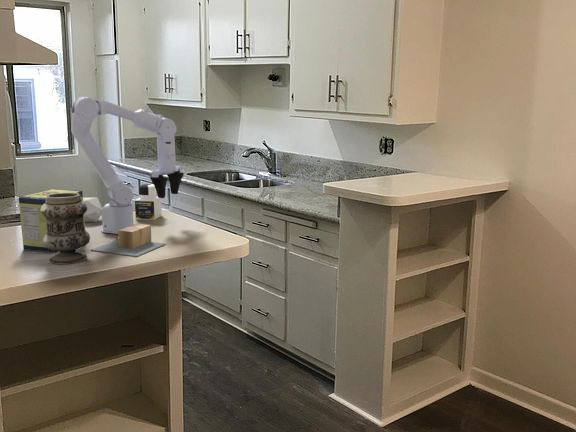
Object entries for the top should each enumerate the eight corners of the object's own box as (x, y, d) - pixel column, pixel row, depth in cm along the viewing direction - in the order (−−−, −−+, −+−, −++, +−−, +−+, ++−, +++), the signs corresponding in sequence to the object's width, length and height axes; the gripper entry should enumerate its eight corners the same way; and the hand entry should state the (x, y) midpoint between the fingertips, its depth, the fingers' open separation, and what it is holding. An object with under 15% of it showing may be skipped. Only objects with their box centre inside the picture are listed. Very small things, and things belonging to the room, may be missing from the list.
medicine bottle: (135, 219, 210) (133, 186, 207) (143, 215, 217) (141, 182, 214) (154, 220, 209) (153, 186, 206) (162, 216, 215) (160, 183, 213)
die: (88, 226, 202) (104, 202, 203) (66, 213, 202) (82, 188, 204) (95, 229, 210) (111, 206, 212) (74, 216, 211) (90, 193, 212)
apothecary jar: (84, 250, 171) (79, 189, 167) (97, 260, 161) (92, 195, 157) (40, 257, 165) (34, 193, 161) (50, 268, 155) (44, 200, 151)
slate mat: (90, 250, 171) (90, 249, 171) (121, 239, 184) (121, 238, 184) (136, 257, 165) (136, 255, 165) (165, 244, 178) (165, 243, 178)
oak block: (137, 239, 182) (118, 246, 174) (136, 223, 181) (117, 230, 173) (151, 241, 180) (133, 248, 172) (150, 225, 179) (132, 231, 171)
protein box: (87, 240, 183) (83, 190, 179) (51, 253, 168) (47, 199, 165) (59, 237, 186) (54, 188, 183) (22, 250, 172) (17, 197, 168)
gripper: (164, 158, 187) (165, 200, 190) (188, 153, 200) (190, 193, 203) (145, 157, 189) (147, 198, 192) (171, 152, 202) (172, 191, 205)
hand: (168, 195), depth 198 cm, fingers open, 7 cm apart
